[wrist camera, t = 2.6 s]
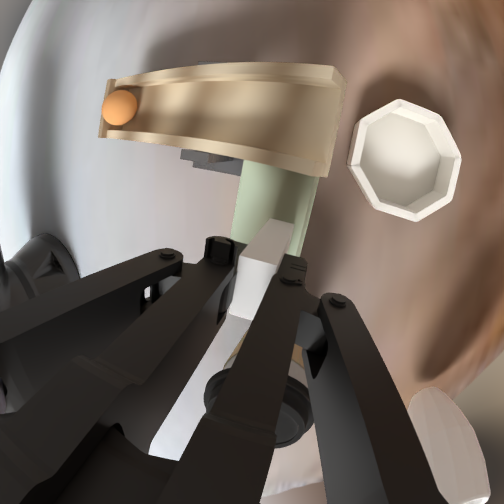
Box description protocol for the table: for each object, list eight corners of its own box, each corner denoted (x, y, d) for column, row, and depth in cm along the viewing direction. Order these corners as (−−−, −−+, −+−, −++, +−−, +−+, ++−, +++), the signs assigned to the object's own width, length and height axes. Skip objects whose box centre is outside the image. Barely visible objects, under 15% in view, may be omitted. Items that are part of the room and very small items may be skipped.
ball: (117, 125, 24) (92, 124, 21) (123, 93, 23) (98, 89, 20) (141, 126, 23) (115, 125, 20) (147, 91, 22) (122, 86, 19)
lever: (118, 200, 29) (93, 204, 26) (133, 83, 24) (107, 79, 21) (300, 282, 18) (276, 299, 16) (347, 81, 14) (329, 62, 11)
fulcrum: (134, 157, 30) (91, 162, 23) (149, 69, 26) (109, 55, 19) (249, 177, 28) (226, 184, 21) (270, 73, 24) (252, 49, 17)
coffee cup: (240, 286, 32) (184, 375, 19) (324, 287, 30) (319, 389, 16) (248, 351, 35) (209, 444, 22) (321, 355, 33) (312, 457, 19)
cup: (465, 357, 28) (512, 483, 8) (433, 407, 32) (454, 523, 12) (404, 353, 30) (434, 508, 10) (376, 405, 34) (379, 537, 14)
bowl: (339, 193, 26) (342, 199, 23) (359, 97, 23) (365, 87, 19) (428, 221, 25) (442, 231, 21) (449, 130, 21) (466, 127, 17)
